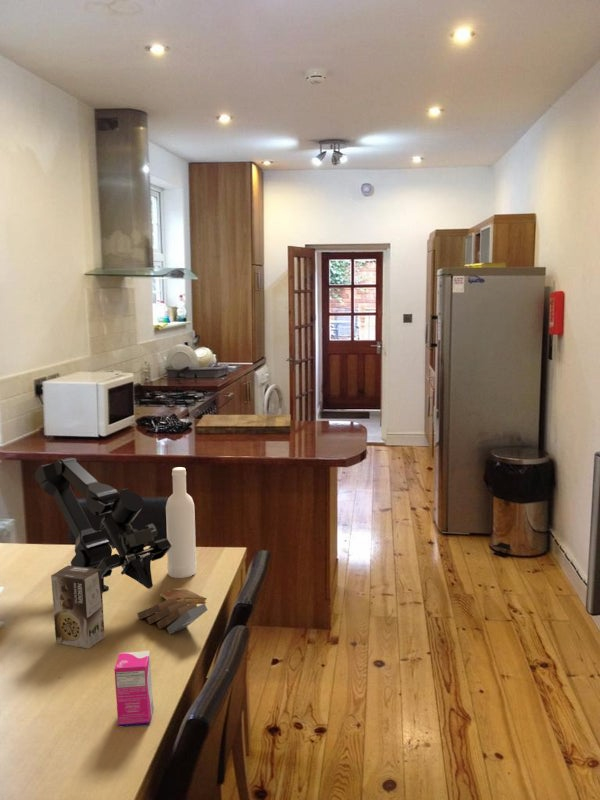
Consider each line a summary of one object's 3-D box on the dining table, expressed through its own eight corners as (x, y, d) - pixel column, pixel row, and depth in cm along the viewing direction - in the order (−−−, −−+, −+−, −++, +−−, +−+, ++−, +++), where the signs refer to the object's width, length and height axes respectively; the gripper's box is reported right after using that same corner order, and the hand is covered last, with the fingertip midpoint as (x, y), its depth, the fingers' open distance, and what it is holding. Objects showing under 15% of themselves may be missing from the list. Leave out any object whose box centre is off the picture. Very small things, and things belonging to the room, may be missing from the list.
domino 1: (136, 613, 169) (158, 603, 163) (153, 606, 173) (175, 597, 167) (139, 619, 169) (160, 610, 162) (156, 613, 173) (178, 603, 166)
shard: (207, 603, 179) (206, 597, 178) (182, 613, 173) (182, 606, 173) (181, 592, 186) (180, 585, 186) (156, 601, 181) (156, 594, 180)
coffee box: (105, 636, 161) (102, 568, 158) (88, 649, 155) (85, 579, 152) (72, 630, 164) (68, 564, 161) (54, 643, 157) (50, 574, 155)
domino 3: (156, 622, 164) (177, 608, 158) (173, 615, 168) (195, 601, 162) (159, 629, 164) (180, 616, 158) (176, 622, 167) (198, 608, 161)
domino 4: (166, 627, 162) (187, 610, 156) (183, 620, 166) (204, 603, 160) (169, 634, 161) (190, 617, 155) (186, 626, 165) (207, 610, 159)
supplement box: (121, 709, 132) (119, 651, 130) (154, 707, 132) (151, 650, 131) (116, 727, 126) (113, 667, 124) (150, 725, 127) (147, 666, 125)
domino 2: (146, 617, 167) (168, 606, 160) (163, 610, 170) (185, 599, 164) (149, 624, 166) (170, 613, 160) (166, 617, 170) (188, 606, 164)
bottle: (201, 573, 197) (199, 468, 193) (177, 580, 192) (173, 473, 188) (186, 565, 203) (183, 463, 199) (162, 572, 198) (158, 468, 194)
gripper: (100, 524, 163) (131, 582, 157) (165, 507, 177) (195, 559, 171) (83, 550, 169) (112, 606, 163) (147, 530, 183) (176, 582, 177)
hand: (150, 587), depth 169 cm, fingers closed
